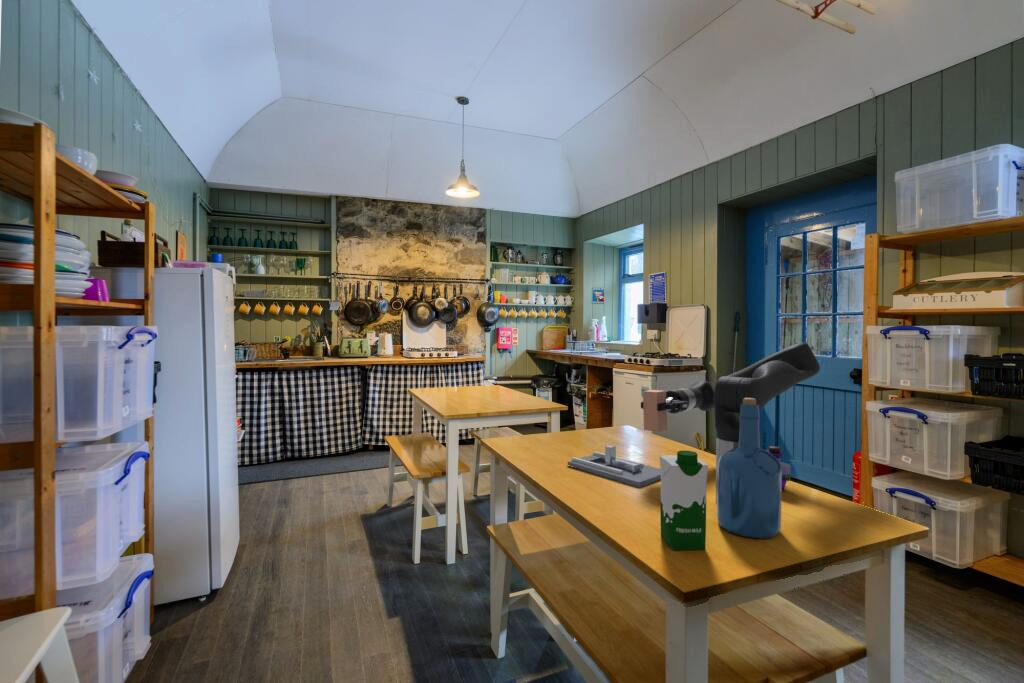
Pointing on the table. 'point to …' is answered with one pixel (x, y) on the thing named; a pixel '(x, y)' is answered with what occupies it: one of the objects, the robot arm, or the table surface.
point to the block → (654, 410)
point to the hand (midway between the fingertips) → (649, 406)
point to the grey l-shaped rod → (611, 460)
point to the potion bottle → (784, 467)
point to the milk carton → (683, 501)
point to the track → (616, 470)
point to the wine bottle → (749, 482)
